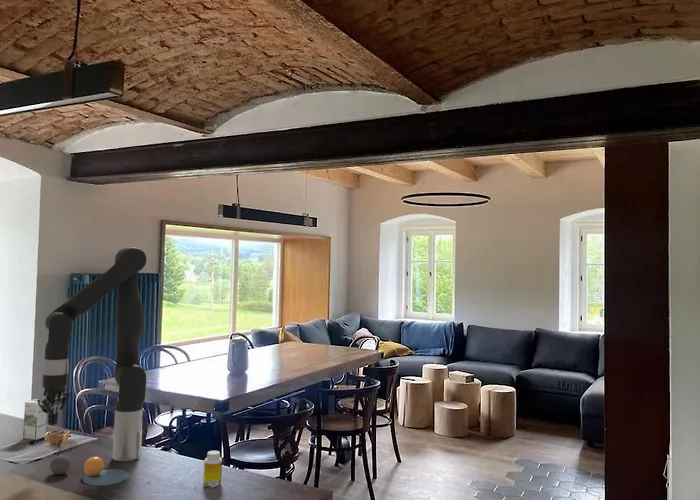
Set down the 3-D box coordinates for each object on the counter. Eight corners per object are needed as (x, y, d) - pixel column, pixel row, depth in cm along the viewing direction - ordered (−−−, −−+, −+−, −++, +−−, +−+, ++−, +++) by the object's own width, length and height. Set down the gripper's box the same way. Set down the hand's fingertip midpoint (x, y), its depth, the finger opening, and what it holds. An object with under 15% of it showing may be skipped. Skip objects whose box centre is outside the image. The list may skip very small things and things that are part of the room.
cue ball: (63, 451, 188) (74, 465, 188) (46, 464, 185) (57, 478, 185) (63, 450, 183) (75, 464, 183) (46, 463, 180) (58, 478, 180)
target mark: (132, 468, 191) (132, 468, 191) (126, 484, 177) (126, 483, 177) (87, 470, 188) (87, 470, 188) (78, 486, 174) (78, 486, 174)
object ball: (93, 464, 188) (108, 469, 187) (80, 477, 183) (97, 482, 182) (91, 450, 186) (107, 455, 185) (78, 463, 180) (95, 468, 179)
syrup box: (45, 436, 223) (47, 399, 224) (35, 440, 217) (38, 402, 218) (32, 435, 224) (34, 398, 224) (22, 439, 218) (24, 401, 218)
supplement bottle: (222, 487, 178) (223, 454, 178) (204, 489, 176) (205, 455, 177) (219, 480, 183) (221, 449, 184) (202, 482, 181) (203, 450, 182)
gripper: (51, 376, 181) (48, 431, 180) (78, 369, 194) (76, 420, 193) (31, 374, 182) (27, 429, 182) (59, 368, 195) (56, 418, 195)
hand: (52, 424), depth 187 cm, fingers closed
